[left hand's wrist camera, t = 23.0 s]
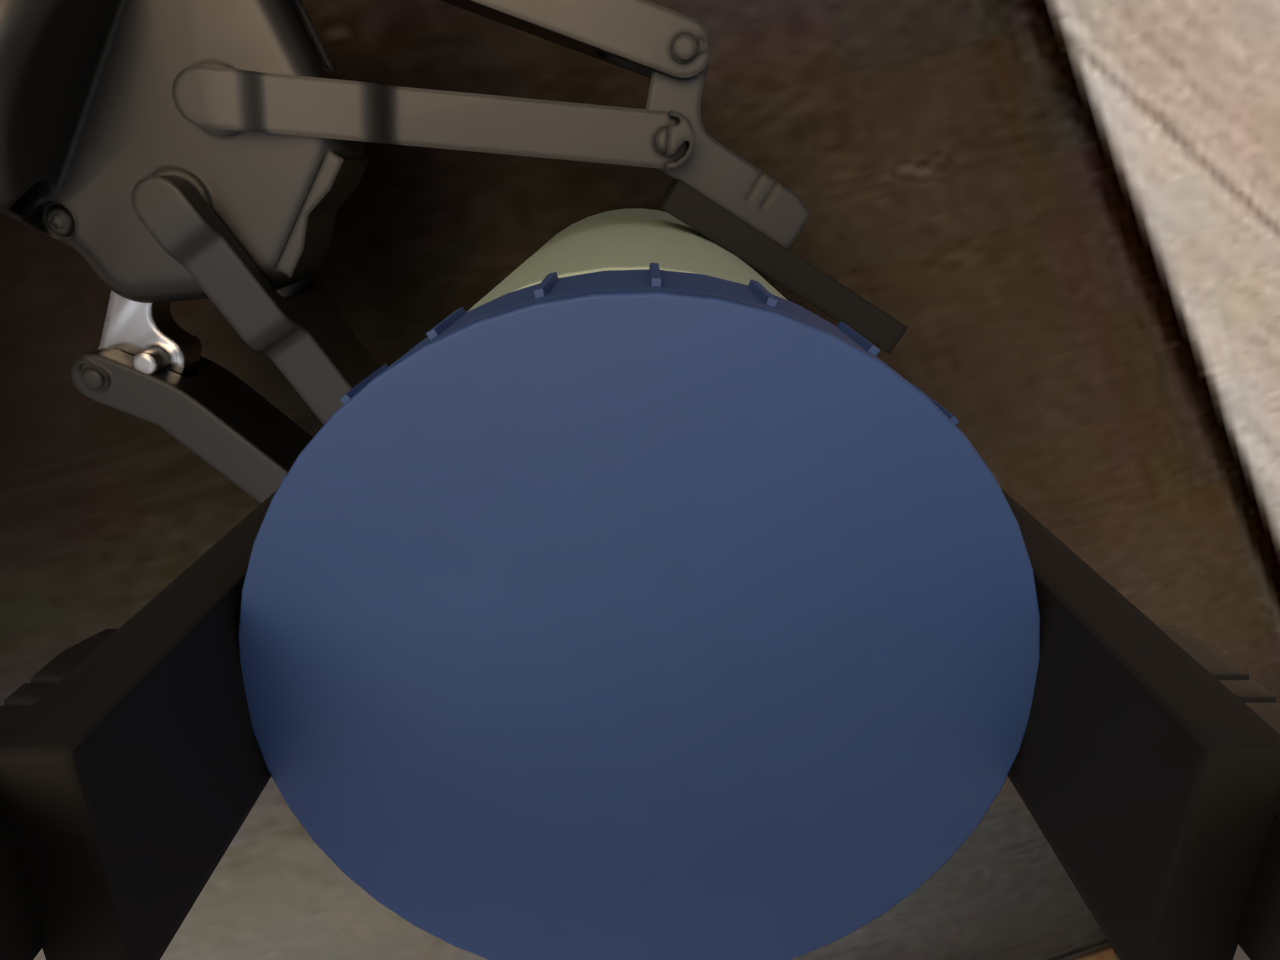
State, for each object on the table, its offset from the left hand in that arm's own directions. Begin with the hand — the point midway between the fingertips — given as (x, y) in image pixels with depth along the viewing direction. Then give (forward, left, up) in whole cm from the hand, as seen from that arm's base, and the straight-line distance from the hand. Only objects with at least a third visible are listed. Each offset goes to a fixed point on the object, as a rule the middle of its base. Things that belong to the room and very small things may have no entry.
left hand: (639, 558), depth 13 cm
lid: (0, 0, +3) cm, 3 cm away
